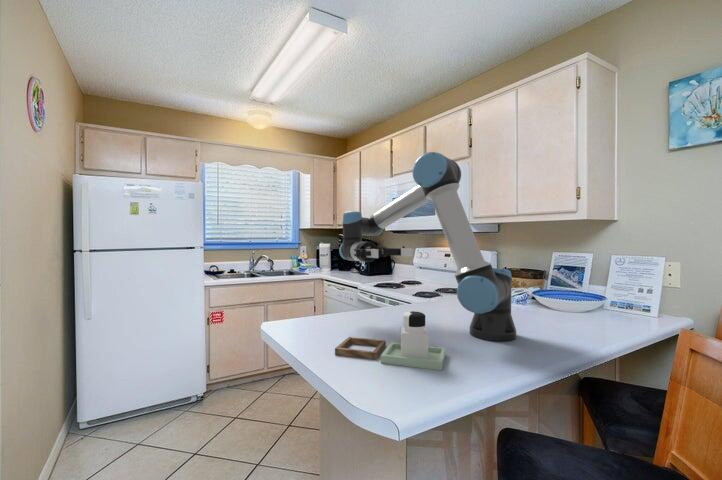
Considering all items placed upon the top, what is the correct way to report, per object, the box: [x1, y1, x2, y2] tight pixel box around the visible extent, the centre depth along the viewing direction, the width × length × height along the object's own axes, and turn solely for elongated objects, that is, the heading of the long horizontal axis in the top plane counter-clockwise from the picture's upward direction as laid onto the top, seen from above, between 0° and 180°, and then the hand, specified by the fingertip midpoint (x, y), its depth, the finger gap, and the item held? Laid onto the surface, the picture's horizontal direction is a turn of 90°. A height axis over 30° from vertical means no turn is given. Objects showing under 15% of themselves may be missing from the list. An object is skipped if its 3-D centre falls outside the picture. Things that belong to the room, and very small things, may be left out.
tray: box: [380, 341, 447, 371], centre depth 96 cm, size 16×12×2 cm
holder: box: [334, 336, 387, 360], centre depth 103 cm, size 12×12×2 cm
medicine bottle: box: [400, 311, 429, 359], centre depth 96 cm, size 7×7×12 cm
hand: (395, 253), depth 110 cm, fingers open, 13 cm apart
